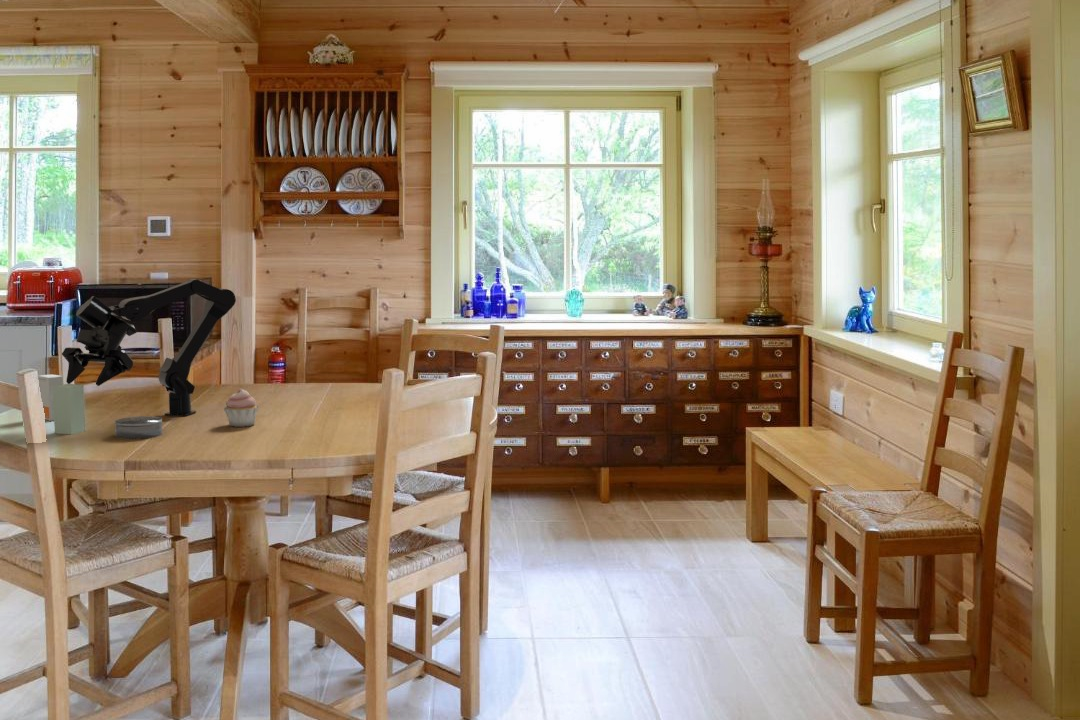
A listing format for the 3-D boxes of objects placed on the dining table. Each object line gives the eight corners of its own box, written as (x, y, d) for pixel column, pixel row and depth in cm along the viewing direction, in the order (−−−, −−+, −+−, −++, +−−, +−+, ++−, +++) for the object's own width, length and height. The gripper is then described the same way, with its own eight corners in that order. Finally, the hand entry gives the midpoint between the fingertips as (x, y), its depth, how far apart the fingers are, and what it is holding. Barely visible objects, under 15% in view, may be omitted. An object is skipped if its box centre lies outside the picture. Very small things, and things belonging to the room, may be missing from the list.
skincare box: (39, 418, 276) (37, 375, 275) (54, 416, 280) (52, 373, 278) (50, 421, 273) (48, 377, 271) (65, 419, 276) (63, 375, 275)
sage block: (69, 429, 261) (67, 383, 260) (85, 431, 260) (83, 384, 258) (54, 433, 256) (52, 386, 255) (71, 434, 255) (69, 387, 254)
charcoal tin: (130, 430, 261) (130, 415, 261) (171, 432, 260) (170, 417, 259) (105, 439, 250) (105, 423, 250) (147, 440, 249) (147, 424, 248)
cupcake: (221, 423, 272) (220, 386, 271) (256, 421, 276) (256, 384, 275) (225, 429, 264) (224, 391, 263) (262, 427, 267) (261, 389, 266)
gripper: (65, 317, 267) (35, 362, 258) (124, 319, 262) (95, 366, 253) (88, 343, 276) (59, 389, 267) (145, 346, 270) (118, 393, 261)
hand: (82, 383), depth 262 cm, fingers open, 9 cm apart
